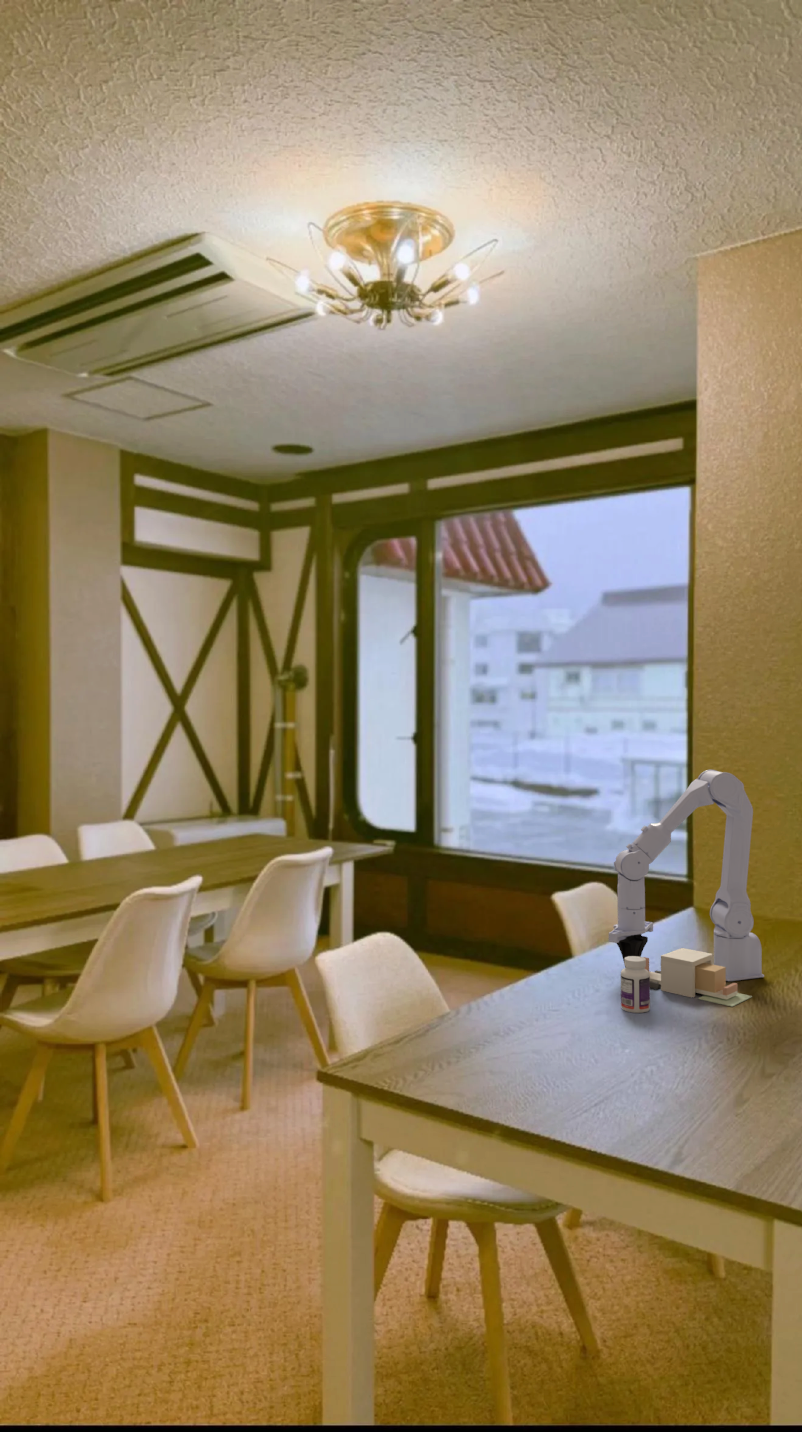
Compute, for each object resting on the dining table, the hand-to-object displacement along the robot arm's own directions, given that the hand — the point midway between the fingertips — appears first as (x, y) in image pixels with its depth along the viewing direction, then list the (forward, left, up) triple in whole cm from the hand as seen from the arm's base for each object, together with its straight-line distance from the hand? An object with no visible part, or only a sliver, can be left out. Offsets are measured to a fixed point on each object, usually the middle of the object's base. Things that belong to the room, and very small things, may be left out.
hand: (631, 970), depth 204 cm
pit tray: (-2, +5, -1) cm, 6 cm away
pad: (-9, +19, -1) cm, 21 cm away
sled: (-5, +11, -1) cm, 12 cm away
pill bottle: (+12, +19, -2) cm, 22 cm away
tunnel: (-5, +12, -1) cm, 13 cm away
